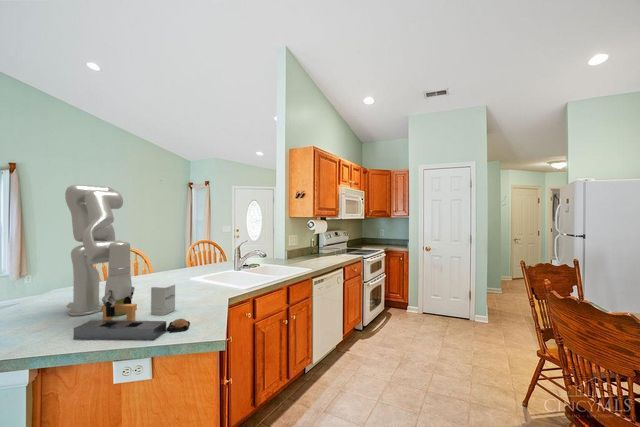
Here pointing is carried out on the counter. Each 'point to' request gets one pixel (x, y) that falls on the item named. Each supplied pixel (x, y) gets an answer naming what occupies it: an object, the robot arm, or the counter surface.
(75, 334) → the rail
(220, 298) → the counter surface
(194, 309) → the counter surface
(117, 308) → the light wooden bench shape
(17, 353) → the counter surface
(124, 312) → the plant pot
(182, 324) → the toy turtle
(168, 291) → the supplement box
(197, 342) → the counter surface
